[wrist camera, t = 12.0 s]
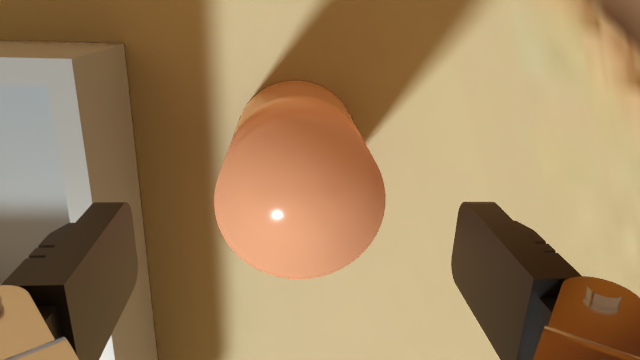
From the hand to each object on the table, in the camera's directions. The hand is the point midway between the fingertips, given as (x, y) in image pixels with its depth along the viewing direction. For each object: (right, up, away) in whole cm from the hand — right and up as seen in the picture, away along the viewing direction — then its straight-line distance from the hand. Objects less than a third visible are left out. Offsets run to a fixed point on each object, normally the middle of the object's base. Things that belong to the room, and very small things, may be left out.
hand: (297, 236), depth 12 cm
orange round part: (0, +3, +9) cm, 9 cm away
